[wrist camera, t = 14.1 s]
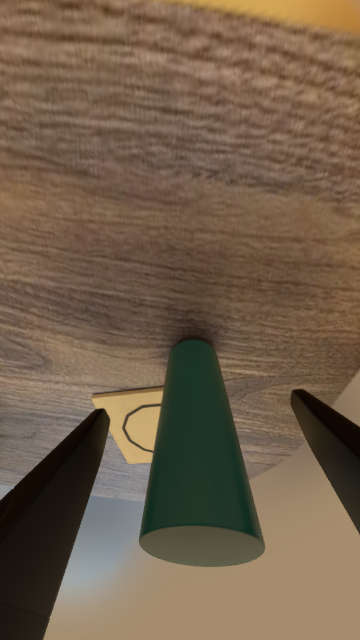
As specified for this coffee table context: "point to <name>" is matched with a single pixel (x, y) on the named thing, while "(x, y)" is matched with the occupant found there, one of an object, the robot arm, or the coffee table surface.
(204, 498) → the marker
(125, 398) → the sketch card
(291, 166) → the coffee table surface
